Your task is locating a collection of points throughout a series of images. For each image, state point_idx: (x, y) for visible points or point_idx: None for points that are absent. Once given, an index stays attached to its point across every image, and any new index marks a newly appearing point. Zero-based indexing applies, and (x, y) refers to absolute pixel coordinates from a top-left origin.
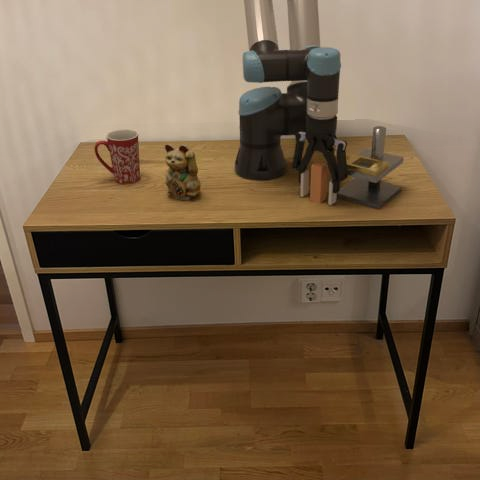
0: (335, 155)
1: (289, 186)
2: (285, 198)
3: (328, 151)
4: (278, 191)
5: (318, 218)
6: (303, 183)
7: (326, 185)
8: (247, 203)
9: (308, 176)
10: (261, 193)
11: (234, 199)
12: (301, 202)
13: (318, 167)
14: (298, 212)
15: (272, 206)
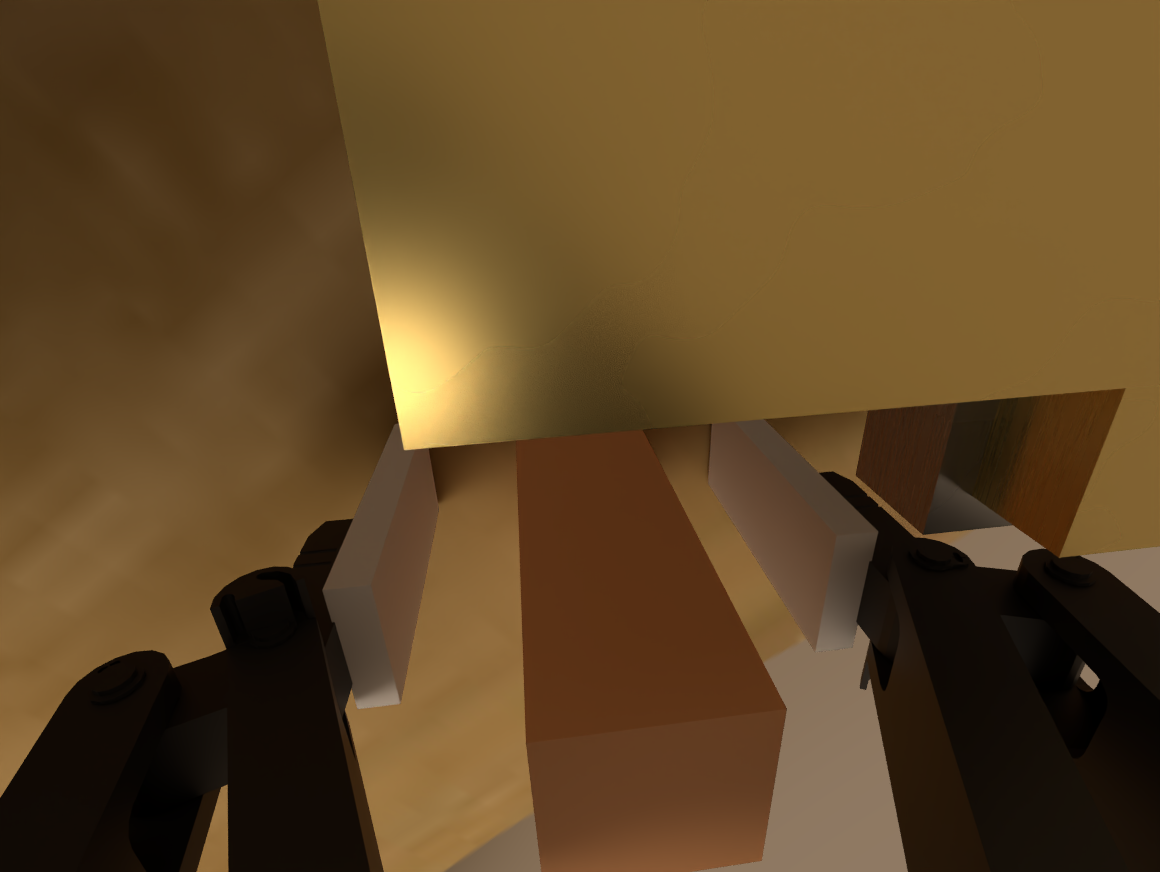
0: (877, 402)
1: (137, 397)
2: None
3: (429, 217)
4: (169, 544)
5: None
6: (419, 598)
7: (660, 467)
8: None
9: (391, 540)
10: (105, 654)
11: None
12: (491, 568)
13: (693, 856)
14: None
15: (369, 727)
